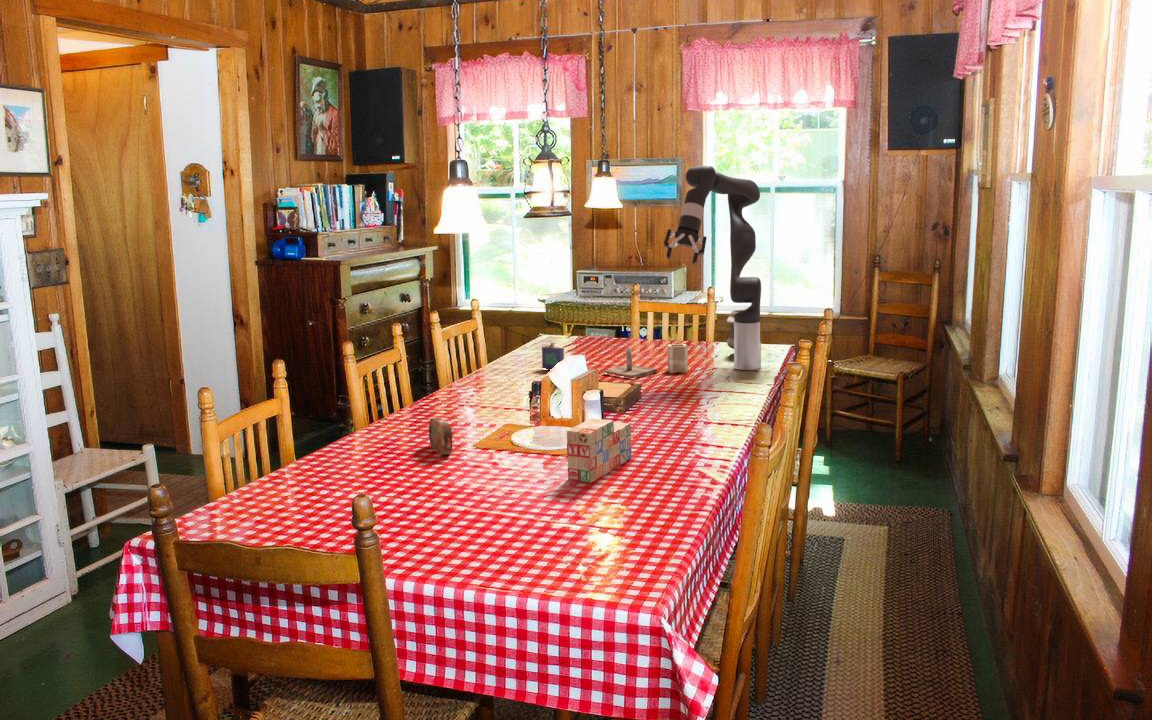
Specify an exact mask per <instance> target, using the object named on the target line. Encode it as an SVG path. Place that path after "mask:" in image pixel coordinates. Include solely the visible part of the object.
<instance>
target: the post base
mask: <svg viewBox="0 0 1152 720" xmlns="http://www.w3.org/2000/svg"><path fill="white" fill-rule="evenodd" d="M632 355H633V353H632V347H626V364H623V365H620V366H616V367H612V368H608V369H605V370H601V373H602V372H606V373H611V374H615V375H619V376H624V377H629V378H634V377H640V378H642V377H641V376H644V377H647V376H646V375H648V376H651V375H650V374H652V375H654V374H653V373H656V374H658V369H657V368H651V367H646V366H639V365H633V364H632V363H633V357H632Z"/></svg>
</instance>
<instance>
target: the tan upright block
mask: <svg viewBox="0 0 1152 720" xmlns="http://www.w3.org/2000/svg"><path fill="white" fill-rule="evenodd" d="M688 350H689V349H688V345H687V344H686V343H679V344H678V343H676V344H674V343H673V344H667V371H668V372H669V374H675V373H676V372H681V373H688V363H689V361H688V360H689V359H688V358H689V357H688V354H689V351H688Z"/></svg>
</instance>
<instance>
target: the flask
mask: <svg viewBox="0 0 1152 720" xmlns="http://www.w3.org/2000/svg"><path fill="white" fill-rule="evenodd" d="M555 344H556V342H554V341H553V342H552V341H551V342H549V344H546V345H542V346H541V359H542V360H541V361H542V363H541V367H542V368H546V369H548V370H550V369H552V368H553V367H554V366H555V365H556V364H557V363H558V362H560V361H562V360H563V359H564V360H565V348H564V347H563V346H555ZM542 368H541V369H542Z"/></svg>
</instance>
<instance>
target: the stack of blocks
mask: <svg viewBox="0 0 1152 720" xmlns="http://www.w3.org/2000/svg"><path fill="white" fill-rule="evenodd" d="M631 435H632V434H631V423H628V422H618V421H614V420H613V419H602V418H595V417H593V418H592V417H591V418H589V419H587V420H585V421H583V422H581V423H580V424H578V425H576V426H574V427H571V428H569V429H567V430H566V442H567V443H566V452H567V453H566V455H567V479H568V480H569V479H571V481H576V480H577V481H576V482H582V481H583V482H584V483H588V484H591V483H592V482H595V481H596V480H598V479H600V478H602V477H603V476H606V475H607V474H609V473H610V472H611V471H613V470H614V469H616V468H618V467H619V466H621V465H623V464H625V463H626V462H627V461H629V460H631V459H632V436H631ZM617 466H618V467H617ZM609 471H610V472H609ZM608 472H609V473H608ZM601 476H602V477H601Z"/></svg>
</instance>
